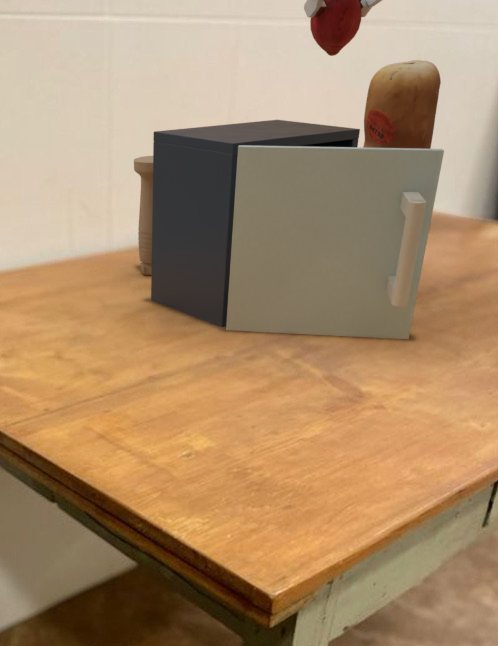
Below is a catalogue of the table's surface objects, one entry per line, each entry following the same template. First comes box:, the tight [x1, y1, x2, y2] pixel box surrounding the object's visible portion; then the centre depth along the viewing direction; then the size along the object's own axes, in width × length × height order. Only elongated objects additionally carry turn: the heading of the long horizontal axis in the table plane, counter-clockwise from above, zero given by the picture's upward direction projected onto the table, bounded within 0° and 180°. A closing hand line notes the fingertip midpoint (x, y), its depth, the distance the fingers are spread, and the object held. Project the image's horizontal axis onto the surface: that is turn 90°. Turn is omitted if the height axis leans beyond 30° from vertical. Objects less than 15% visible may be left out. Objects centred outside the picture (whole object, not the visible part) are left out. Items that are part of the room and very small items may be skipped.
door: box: [225, 145, 445, 340], centre depth 84 cm, size 7×20×20 cm, turn 81°
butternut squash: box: [363, 59, 441, 149], centre depth 136 cm, size 14×13×25 cm
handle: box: [133, 155, 153, 276], centre depth 111 cm, size 5×6×15 cm
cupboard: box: [150, 119, 361, 328], centre depth 98 cm, size 13×20×20 cm, turn 127°
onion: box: [309, 0, 362, 57], centre depth 96 cm, size 6×6×8 cm
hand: (333, 13), depth 96 cm, fingers closed on onion, 5 cm apart
